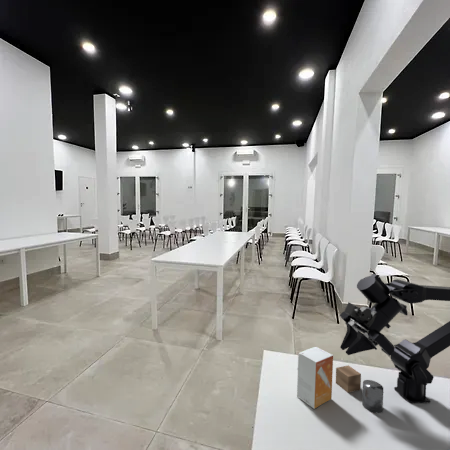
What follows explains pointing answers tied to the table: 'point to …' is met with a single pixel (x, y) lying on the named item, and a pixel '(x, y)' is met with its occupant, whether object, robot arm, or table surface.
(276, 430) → the table surface
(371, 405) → the charcoal metal cylinder
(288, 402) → the table surface
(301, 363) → the small box
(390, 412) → the table surface
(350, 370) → the walnut block
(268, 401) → the table surface
